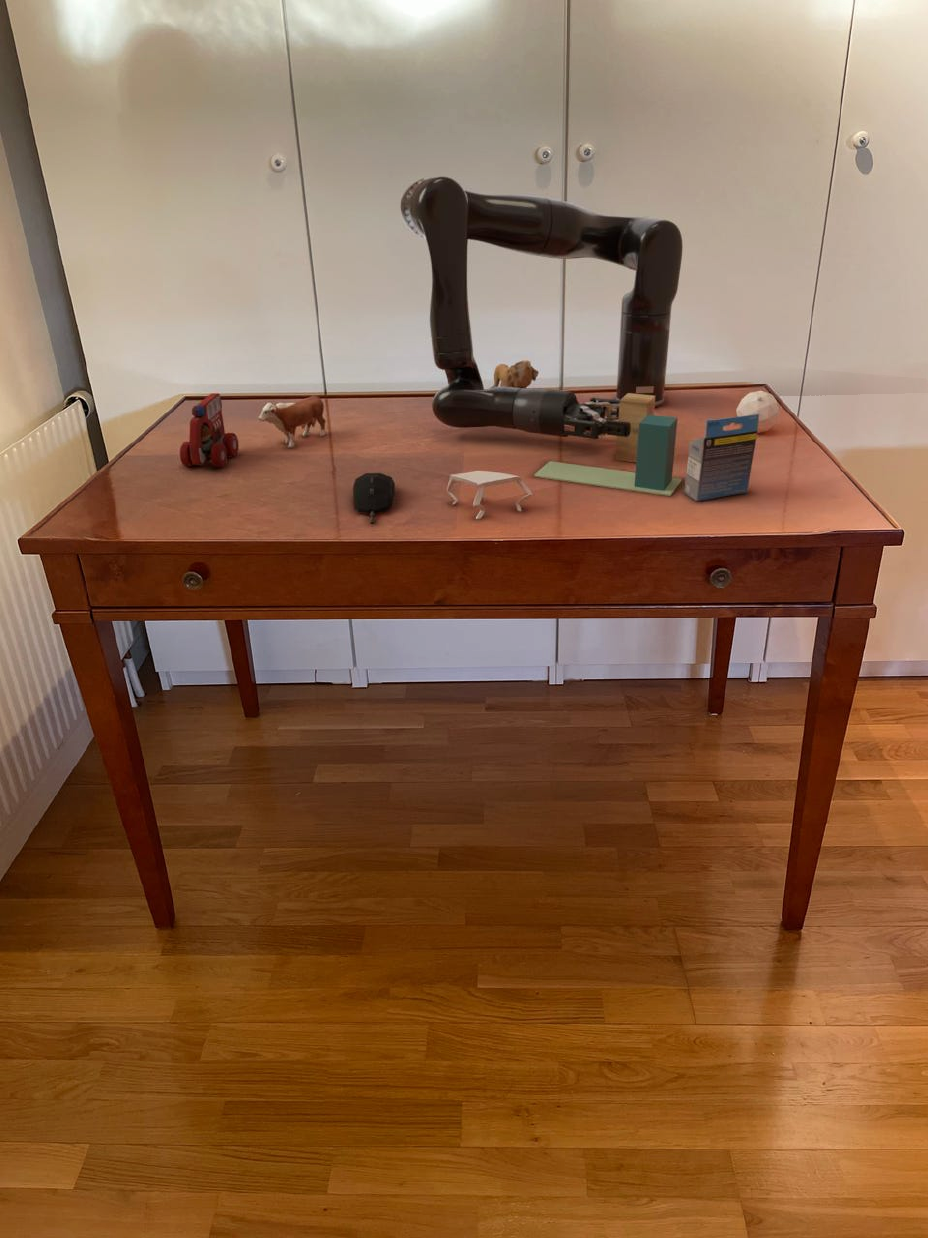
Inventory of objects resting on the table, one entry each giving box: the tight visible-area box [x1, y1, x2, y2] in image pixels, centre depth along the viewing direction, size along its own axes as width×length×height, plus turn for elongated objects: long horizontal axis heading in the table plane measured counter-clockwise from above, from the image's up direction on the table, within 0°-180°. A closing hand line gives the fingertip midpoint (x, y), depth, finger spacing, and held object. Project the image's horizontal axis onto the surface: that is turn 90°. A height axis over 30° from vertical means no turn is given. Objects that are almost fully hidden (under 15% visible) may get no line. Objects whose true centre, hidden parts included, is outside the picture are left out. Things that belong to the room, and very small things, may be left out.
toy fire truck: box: [179, 392, 240, 468], centre depth 149 cm, size 7×12×10 cm, turn 171°
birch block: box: [615, 393, 656, 463], centre depth 145 cm, size 5×5×10 cm
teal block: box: [634, 414, 679, 491], centre depth 133 cm, size 5×5×10 cm
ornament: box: [735, 390, 781, 434], centre depth 155 cm, size 7×7×8 cm
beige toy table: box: [446, 470, 533, 520], centre depth 129 cm, size 12×8×5 cm
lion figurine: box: [488, 359, 540, 389], centre depth 175 cm, size 15×5×9 cm, turn 33°
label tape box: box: [683, 414, 759, 502], centre depth 129 cm, size 9×4×12 cm, turn 108°
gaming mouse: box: [352, 472, 396, 525], centre depth 132 cm, size 6×15×4 cm, turn 3°
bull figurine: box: [258, 394, 327, 449], centre depth 157 cm, size 4×13×8 cm, turn 137°
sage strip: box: [533, 460, 683, 497], centre depth 139 cm, size 7×22×1 cm, turn 64°
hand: (637, 422), depth 144 cm, fingers open, 8 cm apart
